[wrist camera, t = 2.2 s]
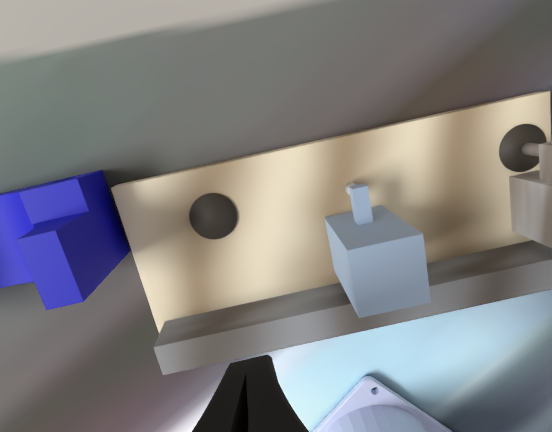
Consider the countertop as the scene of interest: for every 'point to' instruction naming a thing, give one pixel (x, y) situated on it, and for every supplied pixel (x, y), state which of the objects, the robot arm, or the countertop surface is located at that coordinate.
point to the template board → (313, 234)
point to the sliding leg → (377, 256)
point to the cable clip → (60, 238)
